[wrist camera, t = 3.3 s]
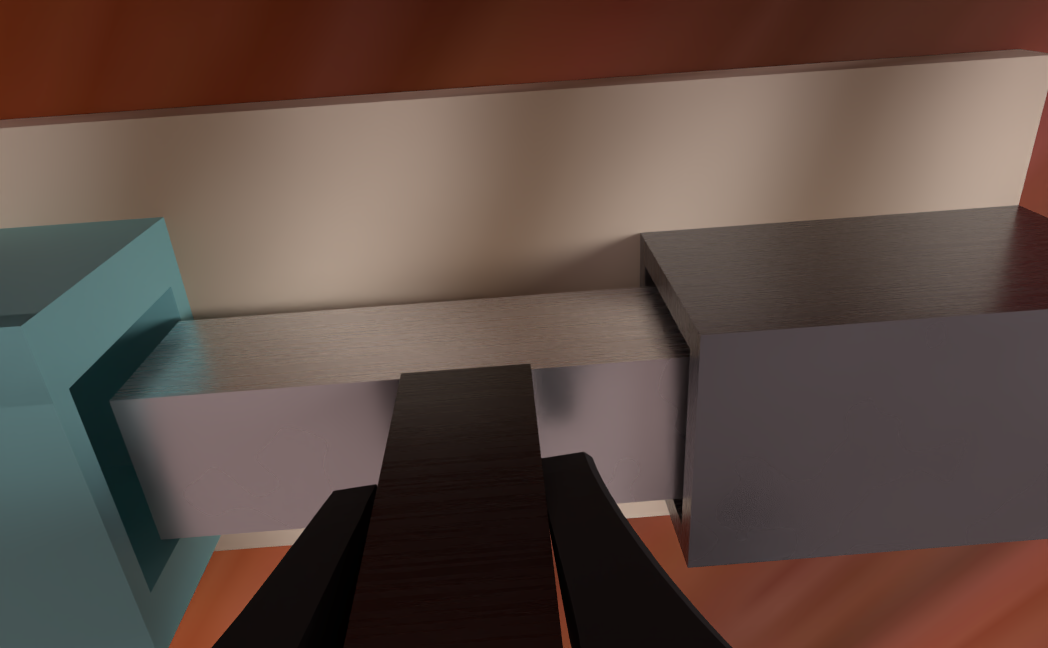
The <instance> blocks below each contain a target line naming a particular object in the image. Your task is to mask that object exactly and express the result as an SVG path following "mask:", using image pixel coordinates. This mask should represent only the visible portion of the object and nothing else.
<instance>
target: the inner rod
mask: <svg viewBox="0 0 1048 648" xmlns="http://www.w3.org/2000/svg"><path fill="white" fill-rule="evenodd" d="M689 363H690V348H689V347H688V345H687V343H686V341H685V339H684V337H683V335H682V334H681V332H680V330H679V328H678V326H677V324H676V322H675V321H674V319H673V317H672V315H671V313H670V311H669V309H668V308H667V306H666V304H665V302H664V300H663V298H662V296H661V295H660V293H659V291H658V289H657V287H656V286H647V287H633V288H620V289H606V290H593V291H579V292H566V293H552V294H539V295H525V296H512V297H498V298H485V299H472V300H458V301H445V302H431V303H418V304H404V305H391V306H377V307H364V308H350V309H337V310H323V311H310V312H297V313H283V314H270V315H256V316H243V317H229V318H216V319H202V320H189V321H179V322H178V323H177V324H176V325H175V326H174V328H173V329H172V330H171V331H170V332H169V333H168V334H167V336H166V337H165V338H164V339H163V340H162V341H161V342H160V344H159V345H158V346H157V347H156V348H155V349H154V350H153V352H152V353H151V354H150V355H149V356H148V357H147V358H146V360H145V361H144V362H143V363H142V364H141V365H140V366H139V368H138V369H137V370H136V371H135V372H134V373H133V375H132V376H131V377H130V378H129V379H128V380H127V381H126V383H125V384H124V385H123V386H122V387H121V388H120V389H119V391H118V392H117V393H116V394H115V395H114V396H113V397H112V399H111V400H110V401H109V402H110V405H111V407H112V410H113V413H114V415H115V418H116V421H117V423H118V426H119V429H120V431H121V434H122V437H123V439H124V442H125V445H126V447H127V450H128V453H129V455H130V458H131V461H132V463H133V466H134V469H135V471H136V474H137V477H138V479H139V482H140V485H141V487H142V490H143V493H144V495H145V498H146V501H147V503H148V506H149V509H150V511H151V514H152V517H153V519H154V522H155V525H156V527H157V530H158V533H159V535H160V538H161V540H163V539H176V538H188V537H201V536H214V535H226V534H239V533H252V532H264V531H277V530H290V529H302V528H306V526H307V525H308V524H309V522H310V521H311V520H312V518H313V517H314V516H315V514H316V513H317V512H318V510H319V509H320V508H321V507H322V505H323V504H324V503H325V501H326V500H327V499H328V498H329V496H330V495H331V494H332V492H333V491H335V490H342V489H348V488H354V487H361V486H367V485H374V484H377V490H376V495H375V500H374V505H373V509H372V514H371V519H370V524H369V528H368V533H367V538H366V543H365V547H364V552H363V557H362V562H361V566H360V571H359V576H358V581H357V586H356V590H355V595H354V600H353V605H352V609H351V614H350V619H349V624H348V628H347V633H346V638H345V643H344V647H343V648H563V645H562V637H561V628H560V619H559V610H558V601H557V592H556V584H555V575H554V566H553V557H552V548H551V540H550V531H549V522H548V513H547V504H546V495H545V487H544V478H543V469H542V460H541V458H546V457H552V456H559V455H565V454H572V453H578V452H585V453H587V454H588V455H590V456H591V457H593V460H594V462H595V465H596V467H597V469H598V471H599V474H600V476H601V478H602V480H603V481H604V483H605V485H606V487H607V489H608V490H609V492H610V494H611V496H612V497H613V499H614V500H615V502H616V504H618V503H631V502H644V501H656V500H669V499H682V498H683V485H684V465H685V444H686V424H687V404H688V383H689Z"/></svg>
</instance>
